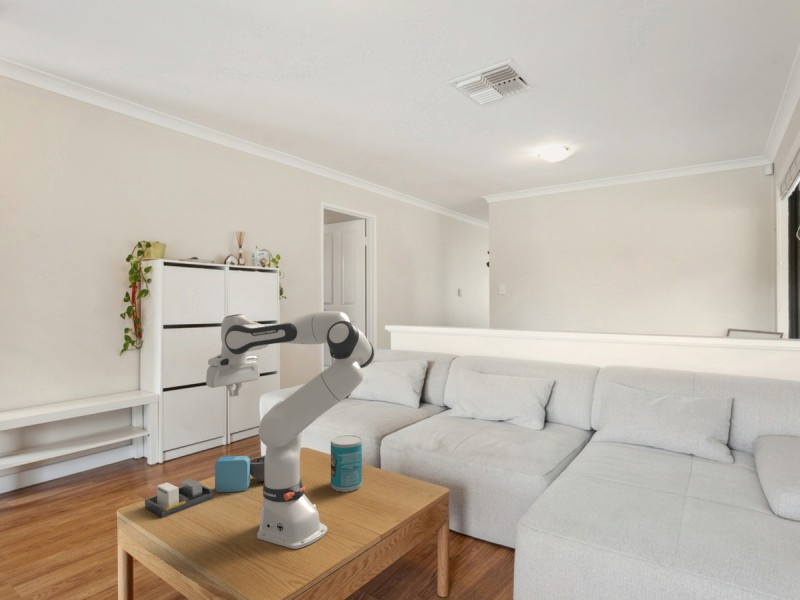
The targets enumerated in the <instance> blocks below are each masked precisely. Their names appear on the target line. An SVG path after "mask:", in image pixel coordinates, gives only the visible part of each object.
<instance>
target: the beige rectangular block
mask: <svg viewBox="0 0 800 600" xmlns="http://www.w3.org/2000/svg"><path fill="white" fill-rule="evenodd" d="M179 488H180V487H178V486H176V485H173V484H172V483H169V482H163V483H161V484H158V485H156V493H157V495H156V496H157V504H158V505H160V506H162V507H164V508H167V507H170V506H172V505H175V504H178V503H179Z"/></svg>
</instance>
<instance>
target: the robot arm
mask: <svg viewBox="0 0 800 600" xmlns="http://www.w3.org/2000/svg"><path fill="white" fill-rule="evenodd" d="M220 328H221V329H220V330H221V331H220V340H221V345H222V346H221V350H220V354H218V355H216V356H213V357H211V358H209V359H208V360H207V364H208V368H207V369H206V377H205V378H206V379H205V380H206V381H205V383H206V386H207V387H209V388H220V387H224V386H226V389H227V391H228V392H229V397H231V398H232V397H237V396H240V390H241V389H242V386H243V383H249V382H255V381H258V380H260V367H259V359H258V357H256V356H255V355H252V356H247V355H248V354H247V353H249V352H254V351H258V350H262V349H264V348H267V347H268V346H269V345H273V344H292V345H293V344H294V345H296V344H297V345H320V344H328V345H327V346H328V348H329V354H330V356H331V357H332V358H333V359H334V361H333V363H332V364H331V365H330V366H329V367H328V368H327V367H326V368H325V370H323V371H322V372H320V373H319V374H317V375H316V376H315V377H313V378H312V379H310V380H308V381H307V382H306V383H305V384H304V385H302V386H301V387H300V388H299V389H297V390H296V391H294V392H293V393H291V394H290V395H289V396H288V397H287V398H285V399H284V400H281V401H279V402H277V403H276V404H274V405H273V406H272V407H271V408H270V409H269V411H267V412H266V413H265V414H264V415H263V416H262V418H261V420H260V423H259V426H258V432H257V433H258V437H259V440H260V441H261V442H262V443H263V445H265V446H266V450H265V453H264V454H265V455H264V456H265V459H264V479H265V482H263V484H262V496H263V503H262V506H261V508H260V511H261V512H260V519H259V529H258V532H257V533H256V538H257V539H258V540H262V541H265V542H269V543H272V544H274V545H279V546H282V547H285V548H289V549H293V550H296V549H301V548H304V547H307V546H310V545H312V544H313V543H315V542H317V541H318V540H320V539H321V538H323V537H324V536H325V535H326V534H327V532H328V531H329V530H328V526H327V525H325V524H324V523H322V522H321V521H320V520H321V519H320V514H319V511H318V509H317V506H316V504H315V503H314V504H313V503H312V502H311V501H310V499H309V498H308V497H307V496H306V495H305V491H306V490H307V489H306V488H307V486H306V485H305V486H303V482H302V479H301V448H302V436H303V435H302V434H303V431H304V430H305V429H306V428H307V427H309V426H310V425H311V424H313V423H314V422H315V421H316V420H317V419H319V417H321V416H322V415H324V414H325V413H326V412H328V411H329V410H330V409H332V408H333V407H335V406H336V405H337V404H339V403H341V402H342V401H343V400H344V399H345V398H347V397H348V396H349V395H351V393H353V392H354V391H355V390H356V389H357V388H358V386H360V385H361V383H362V382H363V380H364V371H363V370H362V369H364V368H366V367H368V366H369V365H370V364H371V363H372V361H373V360H374V357H375V350H374V346H373V345H372V342H370V341H369V340H368V337H366V335H365V334H364V332H363V331H362V330H360V329H359V328H358V327H357V325H355V324H353V323H352V322H351V320H350V317H349V316H348V315H347V314H346V313H345V312H343V311H337V310H333V311H332V310H329V311H327V310H326V311H317V312H312V313H307V314H304V315H301V316H297V317H295V318H292V319H290V320H287V321H283V322H280V323H277V324H273V325H265V324H261V323H259V322H255V321H253V320H251V319H249V318H247V316H246V315H244V314H240V313H239V314H232V315H228V316H224V318H223V319H222V321H221V327H220ZM234 385H235V389H234V390H233V387H234Z"/></svg>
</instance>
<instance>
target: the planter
mask: <svg viewBox="0 0 800 600" xmlns="http://www.w3.org/2000/svg"><path fill="white" fill-rule="evenodd" d="M264 459H265V455H262V456H257V457H254V458H251V459H250V477H252V478H254V479H256V480H257V481H258V482H263V483H264V482H265V479H264Z"/></svg>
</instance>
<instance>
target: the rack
mask: <svg viewBox="0 0 800 600" xmlns="http://www.w3.org/2000/svg"><path fill="white" fill-rule="evenodd" d="M180 485H181V487H178V488H179V503H178V504H175V505H172V506H170V507H167V508H164V507H162V506H160V505H158V504H157V495H154V496H152V497H148V498H145V499H144V509H146V510H147V511H149V512H151V513H153V514H154V515H156V516H158V517H160V518H161V519H163V518H166V517H168V516H171V515H174V514H176V513H178V512H182V511H184V510H186V509H188V508H191V507H194V506H196V505H199V504H202V503H205V502H207V501H209V500H212V499H214V493H213V491H212V488H209V487H207V486H205V485H203V484H202V483H201V482H199V481H197V480H194V479H191V478H189V479H185V480H183V481H181V482H180Z"/></svg>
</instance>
